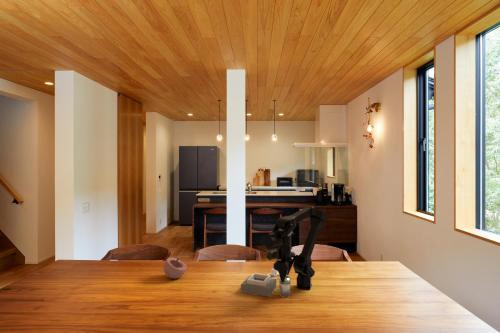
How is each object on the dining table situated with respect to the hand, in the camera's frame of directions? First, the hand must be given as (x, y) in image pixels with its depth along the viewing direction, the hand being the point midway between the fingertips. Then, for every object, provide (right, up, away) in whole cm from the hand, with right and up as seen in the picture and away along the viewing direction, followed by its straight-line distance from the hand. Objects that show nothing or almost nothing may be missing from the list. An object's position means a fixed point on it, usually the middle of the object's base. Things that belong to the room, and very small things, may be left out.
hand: (285, 278), depth 144 cm
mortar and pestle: (-56, -8, +21) cm, 61 cm away
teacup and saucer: (-1, -8, +21) cm, 23 cm away
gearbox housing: (-12, -8, +6) cm, 15 cm away
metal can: (0, -8, 0) cm, 8 cm away
